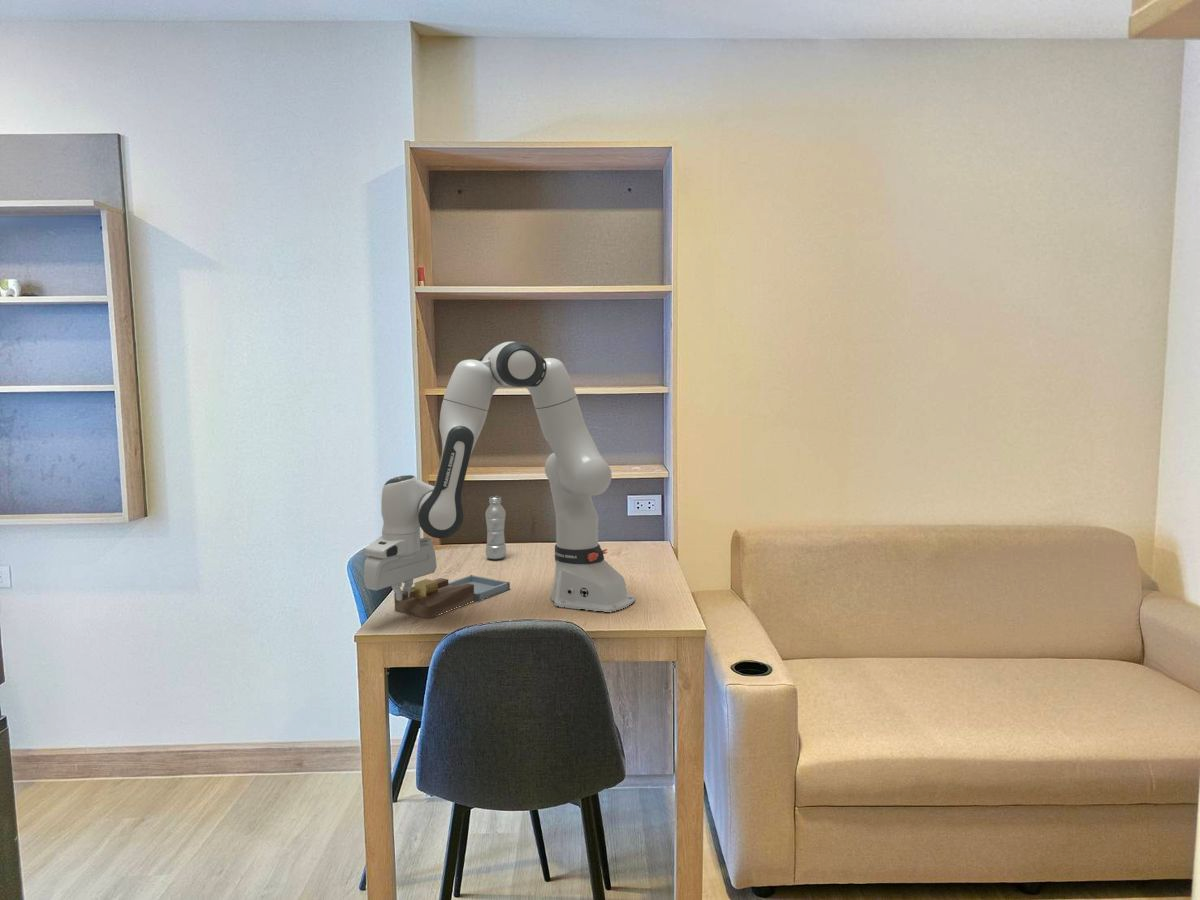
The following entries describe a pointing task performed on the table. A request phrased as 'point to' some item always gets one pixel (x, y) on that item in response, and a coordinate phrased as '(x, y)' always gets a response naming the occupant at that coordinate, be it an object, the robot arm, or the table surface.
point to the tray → (483, 586)
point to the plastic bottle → (495, 529)
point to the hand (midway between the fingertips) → (402, 599)
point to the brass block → (425, 588)
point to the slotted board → (436, 600)
